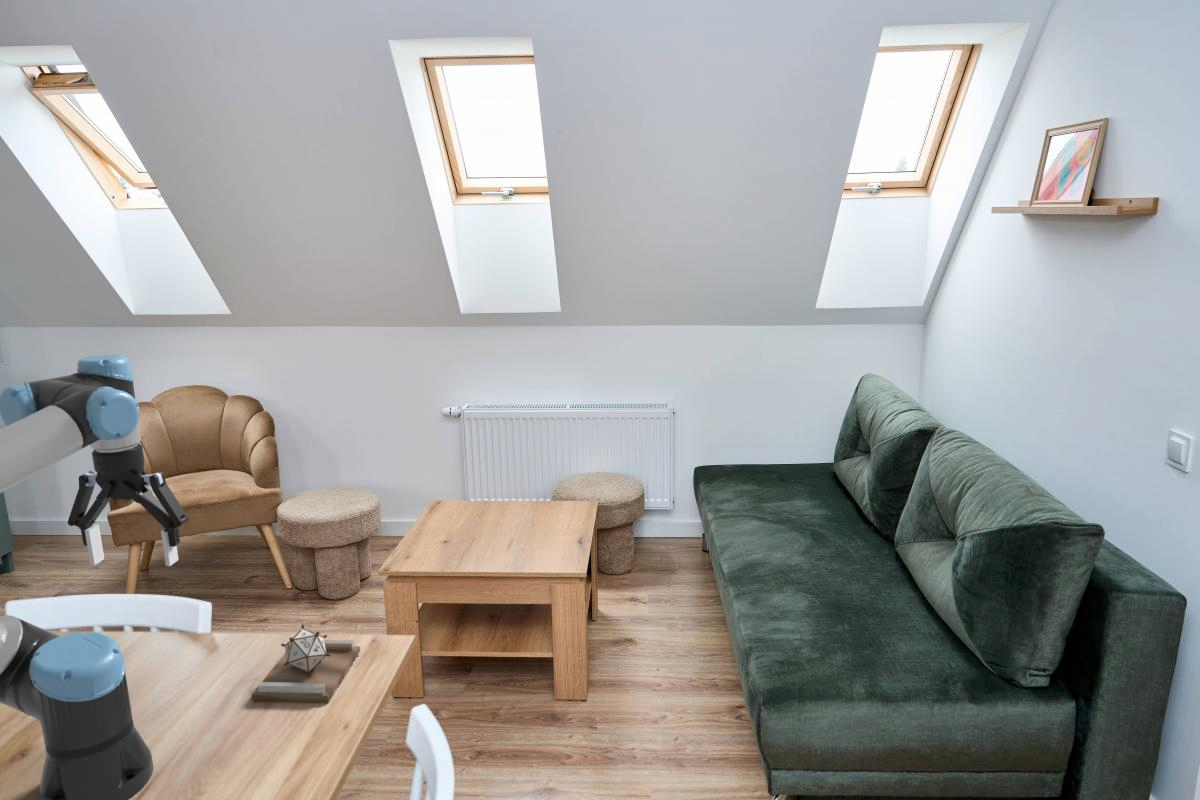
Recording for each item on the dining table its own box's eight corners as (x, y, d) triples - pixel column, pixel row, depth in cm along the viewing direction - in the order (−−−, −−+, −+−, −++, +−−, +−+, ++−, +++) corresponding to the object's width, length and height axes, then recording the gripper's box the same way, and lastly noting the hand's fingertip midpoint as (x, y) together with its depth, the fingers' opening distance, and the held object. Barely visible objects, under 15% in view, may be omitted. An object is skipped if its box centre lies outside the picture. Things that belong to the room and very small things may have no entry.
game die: (320, 684, 161) (347, 648, 159) (282, 689, 155) (309, 651, 152) (302, 648, 166) (328, 612, 164) (264, 651, 159) (290, 614, 157)
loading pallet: (328, 703, 152) (326, 688, 151) (252, 701, 152) (250, 686, 152) (360, 653, 168) (359, 639, 168) (292, 651, 169) (290, 638, 168)
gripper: (199, 440, 146) (214, 554, 151) (61, 440, 147) (80, 553, 152) (175, 453, 138) (192, 572, 143) (30, 452, 140) (51, 570, 145)
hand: (134, 562), depth 148 cm, fingers open, 13 cm apart
